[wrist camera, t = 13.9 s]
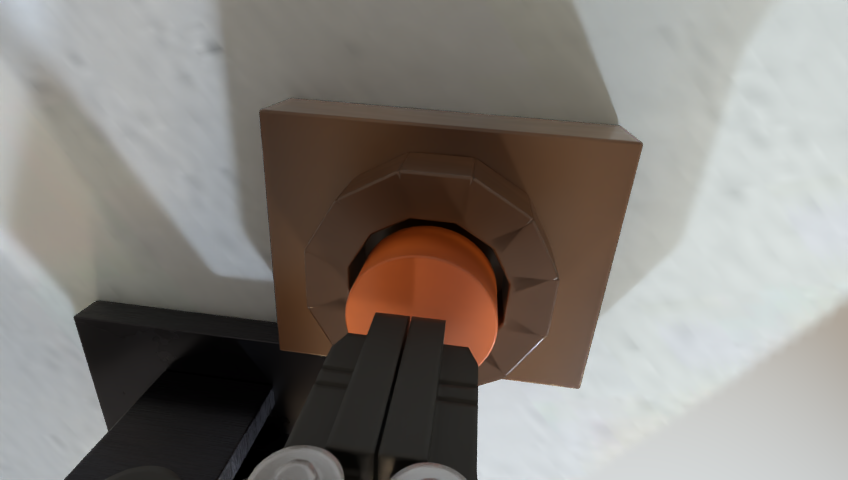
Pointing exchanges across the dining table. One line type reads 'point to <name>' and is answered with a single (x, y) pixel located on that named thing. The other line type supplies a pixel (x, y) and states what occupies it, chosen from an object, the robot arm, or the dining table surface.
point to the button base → (449, 218)
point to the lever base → (189, 391)
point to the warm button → (429, 286)
